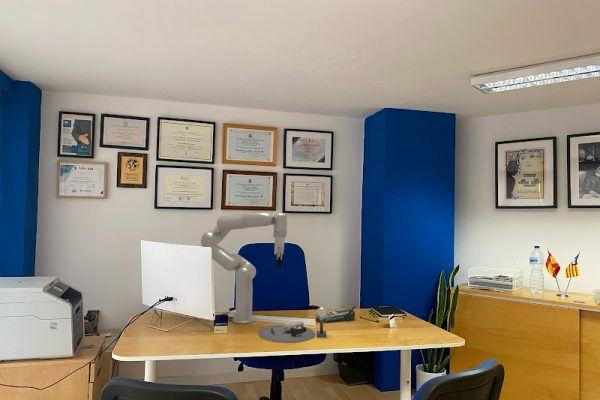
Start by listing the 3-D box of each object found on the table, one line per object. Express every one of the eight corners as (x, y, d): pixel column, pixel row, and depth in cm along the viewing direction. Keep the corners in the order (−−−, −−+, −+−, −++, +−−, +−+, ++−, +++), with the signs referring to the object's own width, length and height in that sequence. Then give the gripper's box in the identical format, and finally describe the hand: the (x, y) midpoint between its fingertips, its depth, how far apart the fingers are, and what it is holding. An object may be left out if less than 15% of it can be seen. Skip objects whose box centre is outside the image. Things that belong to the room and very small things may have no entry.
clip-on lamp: (273, 343, 204) (307, 334, 206) (270, 331, 204) (305, 323, 206) (271, 333, 216) (304, 325, 218) (269, 322, 215) (301, 314, 217)
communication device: (311, 319, 242) (311, 304, 242) (347, 316, 250) (347, 301, 250) (319, 325, 230) (319, 309, 231) (356, 321, 239) (356, 306, 239)
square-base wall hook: (315, 337, 207) (316, 308, 207) (315, 334, 212) (316, 305, 212) (327, 337, 207) (328, 308, 207) (326, 334, 212) (327, 305, 212)
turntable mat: (255, 342, 197) (255, 341, 197) (261, 324, 227) (261, 323, 227) (316, 343, 197) (316, 343, 197) (314, 325, 227) (314, 325, 227)
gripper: (274, 233, 240) (273, 264, 239) (272, 235, 225) (271, 268, 225) (287, 234, 240) (286, 265, 239) (285, 235, 225) (285, 268, 224)
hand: (279, 266), depth 232 cm, fingers closed
